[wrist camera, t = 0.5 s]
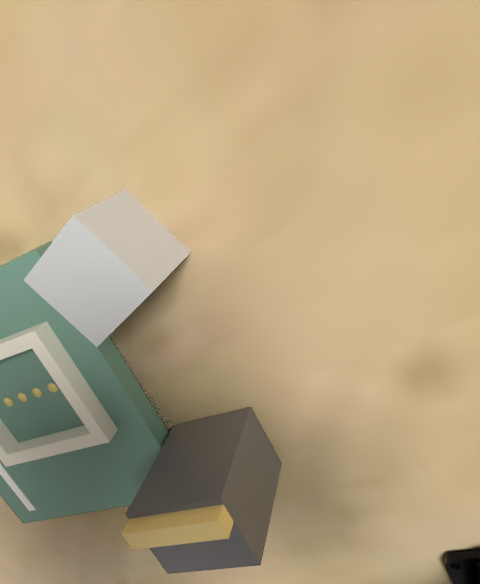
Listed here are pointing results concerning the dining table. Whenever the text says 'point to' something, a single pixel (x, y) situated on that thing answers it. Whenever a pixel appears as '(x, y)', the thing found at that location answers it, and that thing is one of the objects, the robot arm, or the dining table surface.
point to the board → (66, 411)
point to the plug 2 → (207, 495)
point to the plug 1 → (105, 264)
